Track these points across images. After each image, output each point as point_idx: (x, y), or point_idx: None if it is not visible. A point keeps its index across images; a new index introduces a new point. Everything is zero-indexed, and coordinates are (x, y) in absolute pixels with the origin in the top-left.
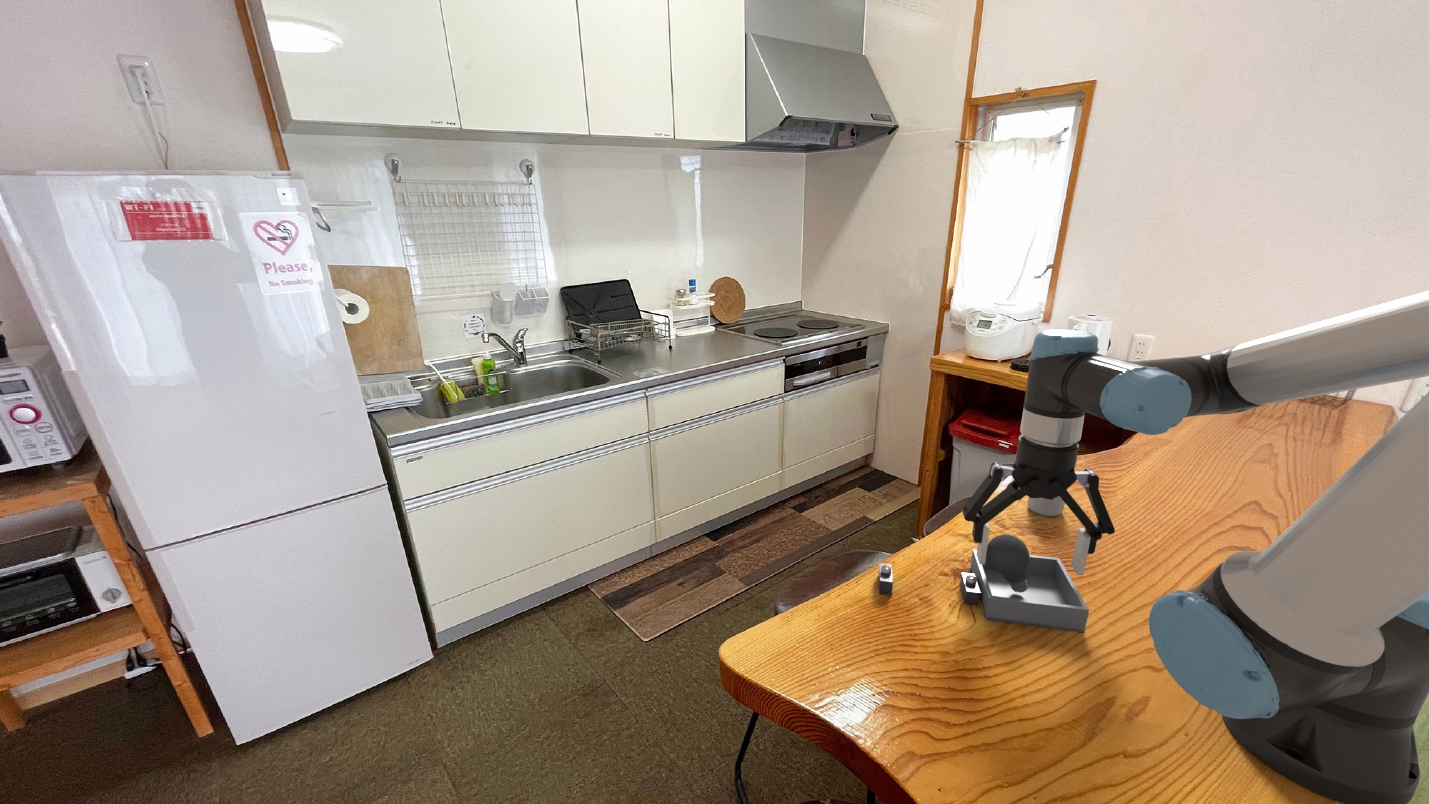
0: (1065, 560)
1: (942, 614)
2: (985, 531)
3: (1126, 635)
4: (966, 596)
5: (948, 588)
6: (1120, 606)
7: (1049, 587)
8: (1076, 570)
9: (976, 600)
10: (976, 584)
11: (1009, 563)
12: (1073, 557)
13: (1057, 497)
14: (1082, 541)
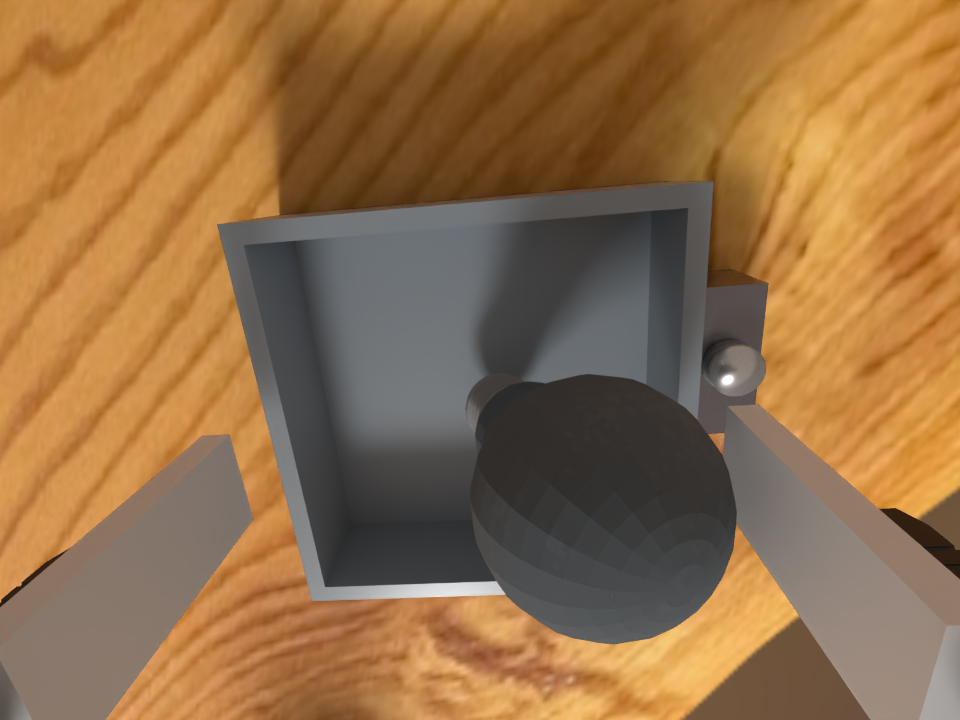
0: (299, 635)
1: (857, 165)
2: (948, 584)
3: (133, 250)
4: (750, 278)
5: (776, 367)
6: (144, 423)
7: (373, 461)
8: (227, 460)
9: None
10: (703, 353)
11: (615, 390)
12: (223, 546)
13: None
14: (68, 617)
